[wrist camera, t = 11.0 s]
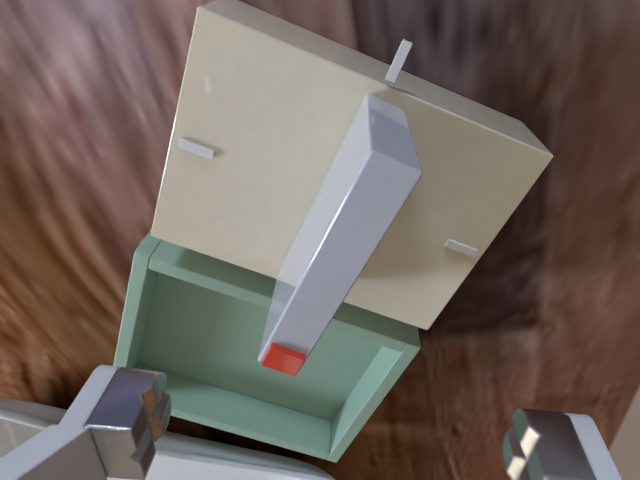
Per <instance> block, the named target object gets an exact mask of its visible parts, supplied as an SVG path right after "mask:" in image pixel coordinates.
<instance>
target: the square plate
mask: <svg viewBox="0 0 640 480" xmlns="http://www.w3.org/2000/svg"><path fill="white" fill-rule="evenodd" d="M66 412H67V410H66V409H61V408H57V407H52V406H48V405H43V404H38V403H33V402H28V401H23V400H18V399H12V398H5V397H0V458H1V457H2V456H4V455H5V454H7V453H8V452H10V451H12V450H13V449H15V448H16V447H18V446H19V445H21V444H22V443H24V442H25V441H27V440H28V439H30V438H31V437H33V436H34V435H36V434H38V433H39V432H41V431H42V430H44V429H45V428H47V427H48V426H50V425H51V424H56V425H58V424H59V423H60V421H61V420H62V418H63V417H64V415H65V413H66ZM154 445H155V449H156V455H155V457H154V460H153V462H152V464H151V467H150V469H149V471H148V474H147V476H146V478H145V480H336V479H334V478H333V477H332V476H330V475H329V474H328V473H327V472H325V471H324V470H322V469H320V468H319V467H317V466H314V465H312V464H309V463H306V462H303V461H300V460H297V459H293V458H290V457H285V456H281V455H276V454H271V453H267V452H262V451H257V450H252V449H247V448H242V447H238V446H233V445H229V444H225V443H221V442H216V441H211V440H206V439H202V438H197V437H192V436H187V435H183V434H178V433H173V432H169V431H165V433H164V435H163V436H162V437H161V438H159V439H158V440H157V441H156V442H154ZM107 480H133V479H121V478H109V477H107Z"/></svg>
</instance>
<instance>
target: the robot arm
mask: <svg viewBox="0 0 640 480" xmlns="http://www.w3.org/2000/svg"><path fill="white" fill-rule="evenodd" d="M166 384H167V378H166V374H165V373H164V372H157V371H149V370H142V369H134V368H126V367H118V366H109V365H99V366H98V367H97V368H96V369H95V370H93V372H92V374H91V375H90V377H89V378H88V380H87V381H86V383H85V384H84V386H83V387H82V389H81V390H80V392H79V394H78V395H77V397H76V398H75V400H74V401H73V403H72V404H71V406H70V407H69V409H68V410H67V412H66V413H65V415H64V417H63V418H62V420H61V421H60V423H59V424H58V425H56V424H51V425H50V426H48V427H47V428H45V429H44V430H42V431H41V432H39V433H38V434H36V435H34V436H33V437H31V438H30V439H28V440H27V441H25V442H24V443H22V444H21V445H19V446H18V447H16V448H15V449H13V450H12V451H10V452H8V453H7V454H5V455H4V456H2V457H1V458H0V480H107V477H109V478H121V479H133V480H145V478H146V476H147V474H148V471H149V469H150V467H151V464H152V462H153V460H154V457H155V455H156V449H155V445H154V442H156V441H157V440H158V439H159V438H161V437H162V436H163V435H164V433H165V431H166V428H167V426H168V423H169V418H170V414H171V397H170V394H169V393H168V392H167V391H166V390H165V387H166ZM512 420H513V423H514V426H513V427H511V428H510V429H508V430H507V431H506V433H505V436H504V439H503V448H502V454H503V462H504V466H505V470H506V473H507V474H508V475H509V476H510V477H511V479H512V480H622V478H621V476H620V474H619V472H618V470H617V468H616V466H615V464H614V462H613V460H612V457H611V455H610V453H609V451H608V449H607V447H606V445H605V443H604V441H603V439H602V437H601V435H600V433H599V431H598V429H597V427H596V424H595V422H594V420H593V419H592V418H591V417H590V416H589V415H582V414H571V413H563V412H556V411H545V410H534V409H522V408H519V409H517V410H516V411H515V413H514V415H513V417H512Z"/></svg>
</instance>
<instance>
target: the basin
mask: <svg viewBox="0 0 640 480" xmlns="http://www.w3.org/2000/svg"><path fill="white" fill-rule="evenodd" d="M151 230H152V229H151ZM151 230H150V231H149V233H148V234H147V236H146V237H145V238H144V240H143V241H142V243H141V244H140V245H139V247H138V248H137V249H136V251H135V252H134V258H133V263H132V268H131V273H130V279H129V284H128V289H127V295H126V300H125V305H124V311H123V316H122V321H121V326H120V332H119V337H118V342H117V348H116V353H115V358H114V364H113V366H118V367H126V368H134V369H142V370H149V371H157V372H164V373H165V374H166V378H167V384H166V387H165V390H166V391H167V392H168V393H169V394H170V397H171V414H170V415H171V416H175V417H178V418H182V419H185V420H189V421H192V422H196V423H199V424H203V425H206V426H210V427H213V428H217V429H220V430H224V431H227V432H231V433H234V434H238V435H241V436H244V437H248V438H251V439H255V440H258V441H262V442H265V443H269V444H272V445H276V446H279V447H283V448H286V449H290V450H293V451H297V452H300V453H304V454H307V455H311V456H314V457H318V458H321V459H326V460H328V461H332V462H335V463H337V462H338V460H339V459H340V457H341V456H342V455H343V453H344V452H345V451H346V449H347V448H348V447H349V445H350V444H351V443H352V441H353V440H354V438H355V437H356V436H357V434H358V433H359V432H360V430H361V429H362V428H363V426H364V425H365V423H366V422H367V421H368V419H369V418H370V417H371V415H372V414H373V413H374V411H375V410H376V409H377V407H378V406H379V404H380V403H381V402H382V400H383V399H384V398H385V396H386V395H387V394H388V392H389V391H390V389H391V388H392V387H393V385H394V384H395V383H396V381H397V380H398V379H399V377H400V376H401V374H402V373H403V372H404V370H405V369H406V368H407V366H408V365H409V364H410V362H411V361H412V360H413V358H414V357H415V355H416V354H417V353H418V351H419V350H420V349H421V345H420V338H419V332H418V327H416V326H413V325H410V324H407V323H404V322H402V321H399V320H396V319H393V318H390V317H387V316H384V315H381V314H378V313H375V312H372V311H369V310H366V309H363V308H361V307H358V306H355V305H352V304H349V303H346V302H343V303H342V304H341V306H340V307H339V309H338V311H337V312H336V314H335V315H334V317H333V319H332V320H331V322H330V323H329V325H328V326H327V328H326V330H325V331H324V333H323V334H322V336H321V338H320V339H319V341H318V342H317V344H316V346H315V347H314V349H313V350H312V352H311V354H310V355H309V357H308V358H307V360H306V361H305V363H304V365H303V366H302V368H301V369H300V371H299V373H298V374H297V375H295V377H294V376H291V375H288V374H285V373H282V372H279V371H277V370H274V369H271V368H268V367H265V366H262V365H261V364H262V363H260V362H259V361H258V355H259V351H260V347H261V343H262V339H263V335H264V330H265V326H266V322H267V318H268V314H269V309H270V305H271V301H272V297H273V293H274V288H275V284H276V280H277V279H276V278H273V277H270V276H267V275H264V274H261V273H258V272H255V271H252V270H249V269H246V268H243V267H240V266H238V265H235V264H232V263H229V262H226V261H223V260H220V259H217V258H214V257H211V256H208V255H205V254H202V253H199V252H197V251H194V250H191V249H188V248H185V247H182V246H179V245H176V244H173V243H170V242H167V241H164V240H161V239H158V238H156V237H153V236H151Z"/></svg>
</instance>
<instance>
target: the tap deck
mask: <svg viewBox="0 0 640 480" xmlns="http://www.w3.org/2000/svg"><path fill="white" fill-rule="evenodd" d="M411 46H412V43H411V42H409V41H407V40H404V39H403V40H402V42H401V44H400V46H399V48H398V51H397V53H396V55H395V57H394V59H393V62H392V64H391V65H388V64H386V63H384V62H381V61H379V60H377V59H374V58H372V57H370V56H367V55H365V54H362V53H360V52H358V51H355V50H353V49H351V48H348V47H346V46H344V45H341V44H339V43H337V42H334V41H332V40H330V39H327V38H325V37H323V36H320V35H318V34H316V33H313V32H311V31H309V30H306V29H304V28H302V27H299V26H297V25H295V24H292V23H290V22H288V21H285V20H283V19H281V18H278V17H276V16H274V15H271V14H269V13H267V12H264V11H262V10H260V9H257V8H255V7H253V6H250V5H248V4H246V3H243V2H241V1H239V0H214V1H211V2H209V3H206V4H204V5H201V6H199V7H198V8H197V13H196V18H195V22H194V27H193V32H192V37H191V42H190V47H189V51H188V56H187V61H186V66H185V71H184V75H183V80H182V85H181V90H180V95H179V100H178V104H177V109H176V114H175V119H174V124H173V128H172V133H171V138H170V143H169V148H168V152H167V157H166V162H165V167H164V172H163V177H162V181H161V186H160V191H159V196H158V201H157V205H156V210H155V215H154V220H153V225H152V230H151V236H153V237H156V238H158V239H161V240H164V241H167V242H170V243H173V244H176V245H179V246H182V247H185V248H188V249H191V250H194V251H197V252H199V253H202V254H205V255H208V256H211V257H214V258H217V259H220V260H223V261H226V262H229V263H232V264H235V265H238V266H240V267H243V268H246V269H249V270H252V271H255V272H258V273H261V274H264V275H267V276H270V277H273V278H276V279H277V276H278V272H279V269H280V267H281V265H282V263H283V261H284V259H285V257H286V255H287V253H288V251H289V249H290V247H291V245H292V243H293V241H294V239H295V237H296V235H297V233H298V231H299V229H300V227H301V225H302V223H303V221H304V219H305V217H306V215H307V213H308V211H309V209H310V207H311V205H312V203H313V201H314V199H315V197H316V195H317V193H318V191H319V189H320V187H321V185H322V182H323V180H324V178H325V176H326V174H327V172H328V170H329V168H330V166H331V164H332V162H333V160H334V158H335V156H336V154H337V152H338V150H339V148H340V146H341V144H342V142H343V140H344V138H345V136H346V134H347V132H348V130H349V128H350V126H351V124H352V122H353V120H354V118H355V116H356V114H357V112H358V110H359V108H360V106H361V104H362V102H363V100H364V98H365V96H366V95H367V94H371V95H373V96H375V97H377V98H379V99H381V100H383V101H385V102H387V103H389V104H392V105H394V106H396V107H398V108H400V109H402V110H404V111H405V113H406V116H407V120H408V123H409V127H410V130H411V134H412V137H413V141H414V144H415V148H416V151H417V155H418V158H419V162H420V165H421V169H422V172H423V175H422V177H421V179H420V180H419V182H418V183H417V185H416V186H415V188H414V190H413V191H412V193H411V194H410V196H409V198H408V199H407V201H406V202H405V204H404V206H403V207H402V209H401V210H400V212H399V214H398V215H397V217H396V218H395V220H394V221H393V223H392V225H391V226H390V228H389V229H388V231H387V233H386V234H385V236H384V237H383V239H382V241H381V242H380V244H379V245H378V247H377V249H376V250H375V252H374V253H373V255H372V256H371V258H370V260H369V261H368V263H367V264H366V266H365V268H364V269H363V271H362V272H361V274H360V276H359V277H358V279H357V280H356V282H355V284H354V285H353V287H352V288H351V290H350V291H349V293H348V295H347V296H346V298H345V299H344V301H343V302H346V303H349V304H352V305H355V306H358V307H361V308H363V309H366V310H369V311H372V312H375V313H378V314H381V315H384V316H387V317H390V318H393V319H396V320H399V321H402V322H404V323H407V324H410V325H413V326H416V327H419V328H422V329H425V330H428V329H429V328H430V327H431V325H432V324H433V322H434V321H435V320H436V318H437V317H438V315H439V314H440V313H441V311H442V310H443V309H444V307H445V306H446V304H447V303H448V302H449V300H450V299H451V298H452V296H453V295H454V293H455V292H456V291H457V289H458V288H459V287H460V285H461V284H462V282H463V281H464V280H465V278H466V277H467V275H468V274H469V273H470V271H471V270H472V269H473V267H474V266H475V264H476V263H477V262H478V260H479V259H480V258H481V256H482V255H483V253H484V252H485V251H486V249H487V248H488V246H489V245H490V244H491V242H492V241H493V240H494V238H495V237H496V235H497V234H498V233H499V231H500V230H501V229H502V227H503V226H504V224H505V223H506V222H507V220H508V219H509V217H510V216H511V215H512V213H513V212H514V211H515V209H516V208H517V206H518V205H519V204H520V202H521V201H522V200H523V198H524V197H525V195H526V194H527V193H528V191H529V190H530V188H531V187H532V186H533V184H534V183H535V182H536V180H537V179H538V177H539V176H540V175H541V173H542V172H543V171H544V169H545V168H546V166H547V165H548V164H549V162H550V161H551V159H552V158H553V155H552V154H551V153H550V151H549V150H548V149H547V148H546V147H545V146H544V145H543V144H542V143H541V142H540V141H539V140H538V139H537V137H536V136H535V135H534V134H533V133H532V132H531V131H530V130H529V129H528V128H527V127H526V126H525V124H524V123H523V122H521V121H519V120H517V119H514V118H512V117H510V116H507V115H505V114H503V113H500V112H498V111H496V110H493V109H491V108H489V107H486V106H484V105H482V104H479V103H477V102H475V101H472V100H470V99H468V98H465V97H463V96H461V95H458V94H456V93H454V92H451V91H449V90H447V89H444V88H442V87H440V86H437V85H435V84H433V83H430V82H428V81H426V80H423V79H421V78H419V77H416V76H414V75H412V74H409V73H407V72H405V71H402V70H401V68H402V66H403V64H404V61H405V59H406V57H407V55H408V53H409V51H410V49H411Z"/></svg>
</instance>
